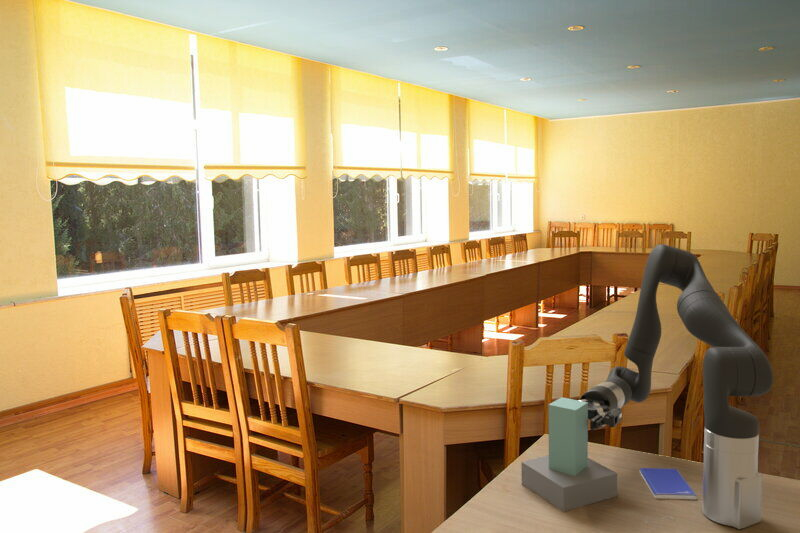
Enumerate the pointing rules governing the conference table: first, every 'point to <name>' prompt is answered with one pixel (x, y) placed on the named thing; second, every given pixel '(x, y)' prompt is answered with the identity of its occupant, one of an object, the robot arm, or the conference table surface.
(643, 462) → the conference table surface
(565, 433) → the carton
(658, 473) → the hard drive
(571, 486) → the podium
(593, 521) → the conference table surface
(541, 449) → the conference table surface
